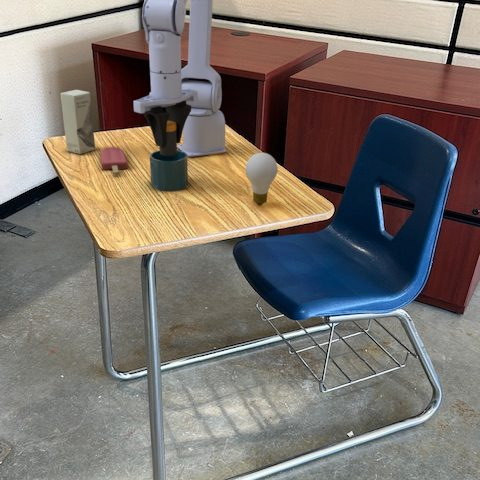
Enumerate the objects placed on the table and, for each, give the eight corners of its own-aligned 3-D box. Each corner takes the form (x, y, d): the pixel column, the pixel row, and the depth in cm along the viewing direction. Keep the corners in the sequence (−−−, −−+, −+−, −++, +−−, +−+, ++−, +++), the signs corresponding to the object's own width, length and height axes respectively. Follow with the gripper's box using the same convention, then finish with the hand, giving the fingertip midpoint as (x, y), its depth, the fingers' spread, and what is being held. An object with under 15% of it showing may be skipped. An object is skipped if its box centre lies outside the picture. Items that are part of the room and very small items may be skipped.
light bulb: (239, 207, 114) (241, 155, 109) (250, 196, 119) (252, 146, 113) (269, 213, 113) (272, 160, 107) (278, 201, 117) (282, 151, 112)
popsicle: (102, 170, 124) (99, 147, 137) (103, 177, 125) (99, 154, 137) (128, 168, 126) (122, 146, 138) (129, 176, 127) (123, 153, 139)
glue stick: (169, 149, 122) (167, 119, 118) (180, 153, 120) (179, 123, 117) (156, 153, 120) (154, 122, 116) (167, 157, 118) (166, 126, 114)
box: (80, 155, 136) (73, 96, 129) (66, 151, 138) (58, 93, 131) (96, 149, 140) (90, 91, 133) (82, 145, 142) (76, 88, 135)
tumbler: (179, 175, 127) (179, 147, 124) (193, 187, 122) (193, 158, 119) (146, 180, 125) (144, 152, 121) (158, 193, 119) (157, 163, 116)
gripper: (179, 62, 118) (181, 132, 125) (120, 72, 109) (126, 147, 116) (205, 68, 114) (205, 140, 122) (146, 79, 105) (150, 155, 112)
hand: (168, 144), depth 119 cm, fingers closed on glue stick, 3 cm apart
